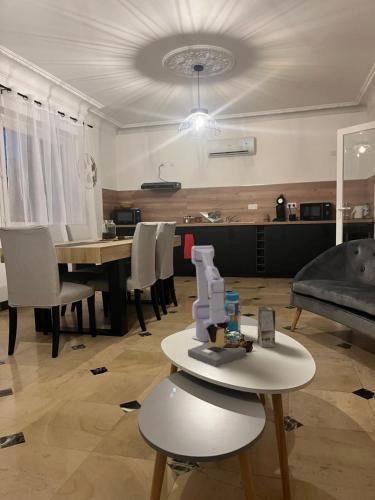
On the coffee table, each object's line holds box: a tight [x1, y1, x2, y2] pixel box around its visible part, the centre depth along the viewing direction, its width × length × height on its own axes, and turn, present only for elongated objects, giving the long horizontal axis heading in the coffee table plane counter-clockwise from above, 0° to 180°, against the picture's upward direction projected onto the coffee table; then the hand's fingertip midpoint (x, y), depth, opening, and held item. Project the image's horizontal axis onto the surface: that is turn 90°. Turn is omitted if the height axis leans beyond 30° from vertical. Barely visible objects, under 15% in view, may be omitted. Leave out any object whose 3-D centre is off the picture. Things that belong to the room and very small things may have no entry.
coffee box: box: [257, 306, 276, 348], centre depth 161 cm, size 9×6×16 cm
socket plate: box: [187, 342, 247, 368], centre depth 149 cm, size 18×16×3 cm
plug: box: [208, 326, 225, 347], centre depth 148 cm, size 4×5×7 cm
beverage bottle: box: [224, 292, 242, 334], centre depth 176 cm, size 8×8×20 cm
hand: (216, 340), depth 148 cm, fingers closed on plug, 4 cm apart
